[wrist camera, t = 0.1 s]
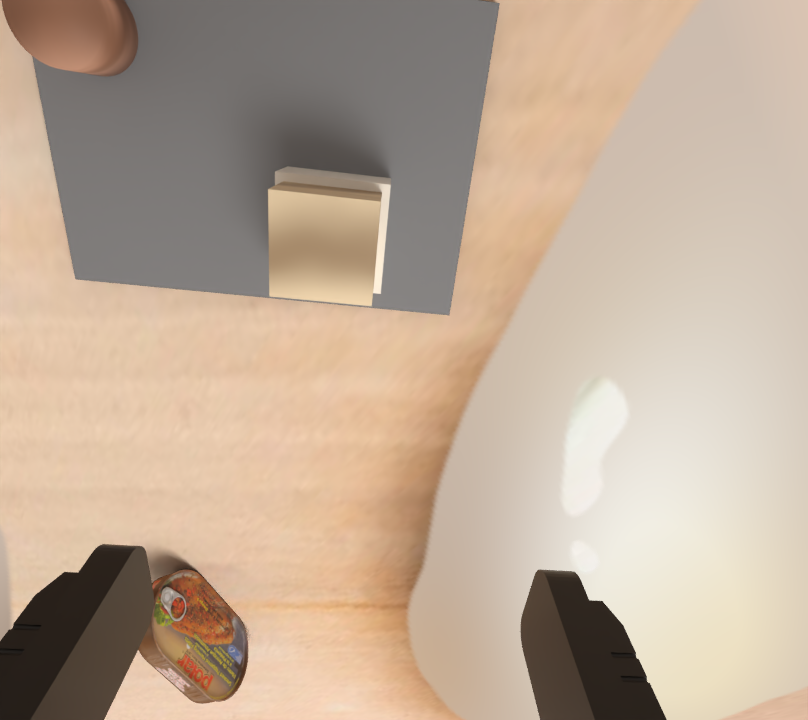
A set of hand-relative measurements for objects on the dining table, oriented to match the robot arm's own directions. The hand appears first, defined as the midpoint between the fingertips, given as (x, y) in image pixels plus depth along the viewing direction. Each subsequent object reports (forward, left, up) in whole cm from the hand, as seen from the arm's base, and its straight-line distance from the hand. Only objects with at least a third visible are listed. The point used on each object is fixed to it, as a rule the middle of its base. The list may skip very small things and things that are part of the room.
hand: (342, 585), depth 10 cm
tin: (+40, -15, -30) cm, 52 cm away
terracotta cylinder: (-12, -18, -28) cm, 36 cm away
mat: (-6, -8, -29) cm, 31 cm away
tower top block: (-2, -3, -24) cm, 24 cm away
